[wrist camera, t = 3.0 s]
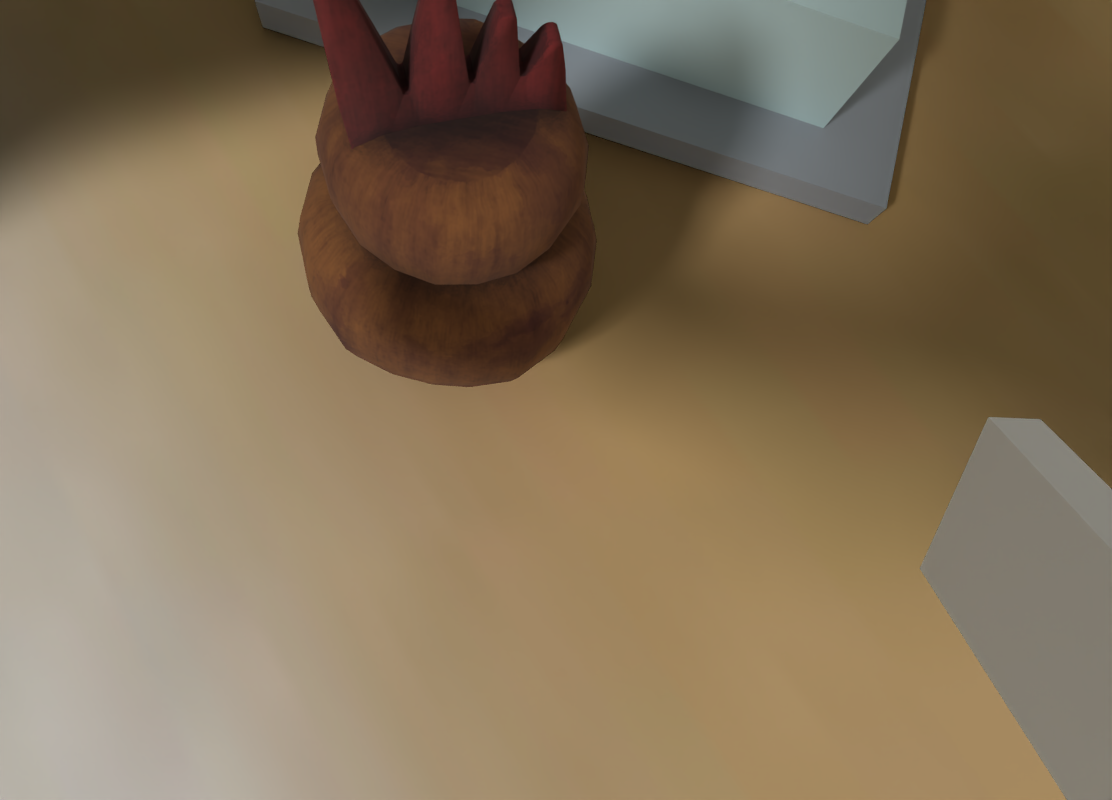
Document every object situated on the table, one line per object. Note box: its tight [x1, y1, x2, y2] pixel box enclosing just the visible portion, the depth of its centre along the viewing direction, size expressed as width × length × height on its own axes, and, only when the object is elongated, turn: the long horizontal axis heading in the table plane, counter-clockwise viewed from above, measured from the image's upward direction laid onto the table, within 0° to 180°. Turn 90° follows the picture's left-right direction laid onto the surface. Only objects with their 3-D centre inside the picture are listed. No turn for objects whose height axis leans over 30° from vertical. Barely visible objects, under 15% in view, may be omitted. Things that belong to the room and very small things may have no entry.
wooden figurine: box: [298, 0, 597, 387], centre depth 18 cm, size 7×6×15 cm
